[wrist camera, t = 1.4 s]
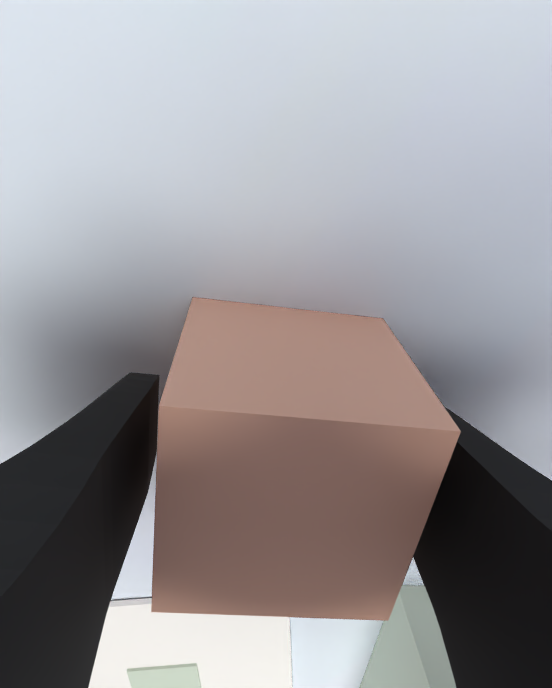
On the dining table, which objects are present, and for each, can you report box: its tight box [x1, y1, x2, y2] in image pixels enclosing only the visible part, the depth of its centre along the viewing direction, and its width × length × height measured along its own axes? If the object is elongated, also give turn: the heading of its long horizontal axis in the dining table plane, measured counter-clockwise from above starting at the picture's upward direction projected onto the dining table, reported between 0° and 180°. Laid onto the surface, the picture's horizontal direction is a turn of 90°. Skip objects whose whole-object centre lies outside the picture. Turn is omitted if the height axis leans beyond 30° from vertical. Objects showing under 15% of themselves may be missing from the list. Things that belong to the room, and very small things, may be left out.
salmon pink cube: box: [151, 297, 461, 621], centre depth 10 cm, size 4×4×4 cm
